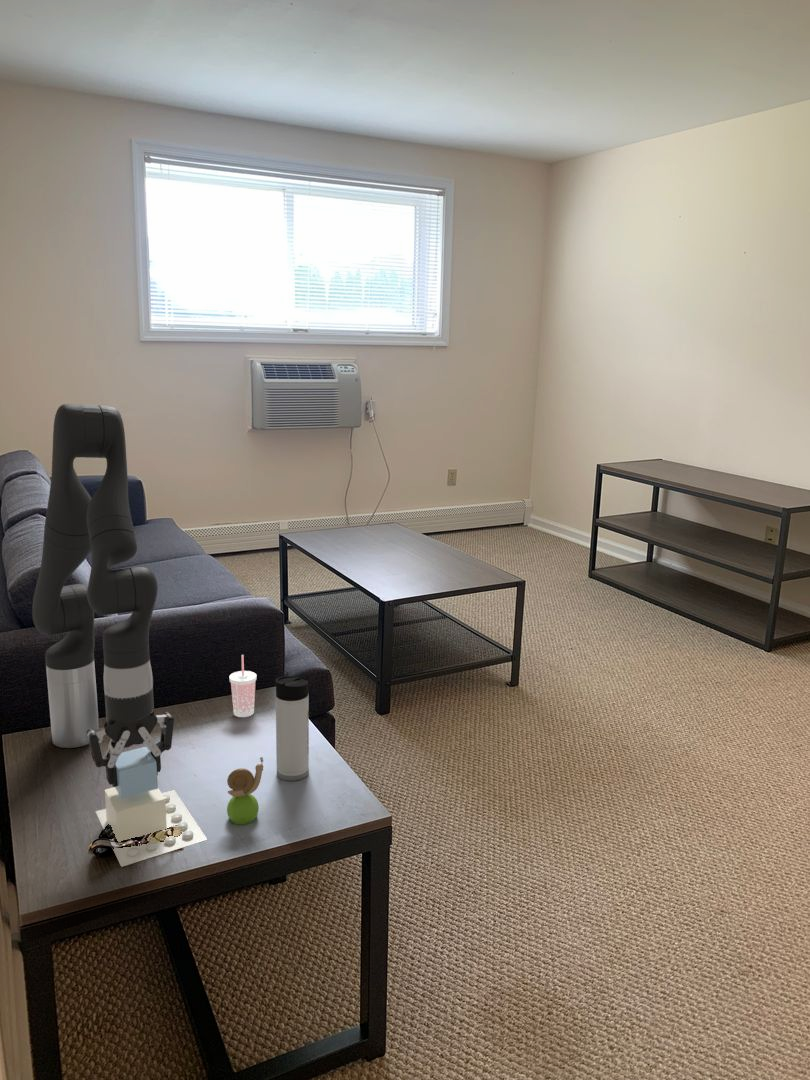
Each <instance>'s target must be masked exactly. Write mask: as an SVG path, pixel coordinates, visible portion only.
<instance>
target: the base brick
mask: <svg viewBox="0 0 810 1080" xmlns="http://www.w3.org/2000/svg"><path fill="white" fill-rule="evenodd" d="M162 793H163V792H162V791H161V790H160V788H159V787H158V789H155V790H151V791H147V792H144V793H140V794H137V795H133V796H130V797H126V798H123V799H121V797H120V796H119V794H118V792H117V790H116V788H115V787H113V786H112V787H110V788H106V789H104V799H105V800H104V802H105V803H104V804H105V809H106V818H107V823H108V824H109V825H111V827H112V830H113V833H114V834H115V837H116V839H117V841H118V842H121V841H123V840H127V839H131V838H135V837H140V836H143V835H147V834H150V833H153V832H156V831H159V830H165V829H167V823H166V803H165V797H164V796H163V794H162Z"/></svg>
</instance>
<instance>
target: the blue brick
mask: <svg viewBox="0 0 810 1080" xmlns="http://www.w3.org/2000/svg"><path fill="white" fill-rule="evenodd" d="M150 752H151V751H150V749H149V748H148V746H144V747H143V746H142V747H138V748H135V749H130V750H127V751H122V753H121V755H120V756H119V757H118V759H117V761H116V764H115V766H116V770H117V782H118V786H117V787H115V788H116V790H117V792H118V794H119V796H120V797H121V799H123V798H126V797H130V796H133V795H137V794H140V793H144V792H147V791H151V790H155V789H158V788H159V784H158V783H159V782H158V776H157V766H156V760H155V759H154V758H153V756H152V755H151V753H150Z"/></svg>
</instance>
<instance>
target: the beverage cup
mask: <svg viewBox="0 0 810 1080" xmlns="http://www.w3.org/2000/svg"><path fill="white" fill-rule="evenodd" d="M244 657H245V655H244V654H241V670H239V671H234V672H232V673H231V674H230V675H229V683H230V686H231V687H230V689H231V698H232V699H231V701H232V707H233V708H232V711H233V715H234V716H235V717H238V718H248V717H250V716H253V715H254V713H255V702H256V701H255V697H256V681H257V678H258V677H257V673H255V672H253V671H251V670H245V663H244V662H245V661H244V660H245V659H244Z"/></svg>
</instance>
